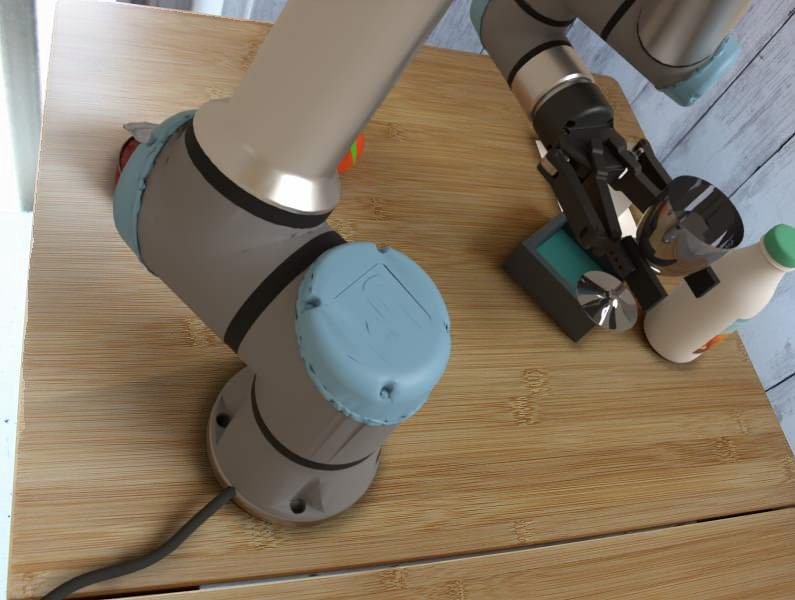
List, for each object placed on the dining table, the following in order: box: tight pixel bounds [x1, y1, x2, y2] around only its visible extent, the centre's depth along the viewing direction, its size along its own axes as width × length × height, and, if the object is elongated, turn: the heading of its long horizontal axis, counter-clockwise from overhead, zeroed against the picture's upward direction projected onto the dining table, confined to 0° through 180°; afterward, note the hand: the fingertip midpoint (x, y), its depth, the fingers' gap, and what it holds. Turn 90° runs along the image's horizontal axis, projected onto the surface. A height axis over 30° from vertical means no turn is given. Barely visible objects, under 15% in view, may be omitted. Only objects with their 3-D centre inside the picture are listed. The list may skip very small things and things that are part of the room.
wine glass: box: [576, 174, 745, 333], centre depth 78 cm, size 8×8×15 cm
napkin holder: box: [535, 140, 638, 239], centre depth 105 cm, size 15×11×6 cm
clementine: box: [337, 130, 365, 174], centre depth 90 cm, size 8×7×7 cm
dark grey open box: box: [501, 211, 632, 343], centre depth 96 cm, size 12×12×5 cm
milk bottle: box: [643, 223, 795, 364], centre depth 91 cm, size 8×8×20 cm
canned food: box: [113, 121, 160, 189], centre depth 80 cm, size 11×10×10 cm
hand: (682, 296), depth 76 cm, fingers closed on wine glass, 6 cm apart
